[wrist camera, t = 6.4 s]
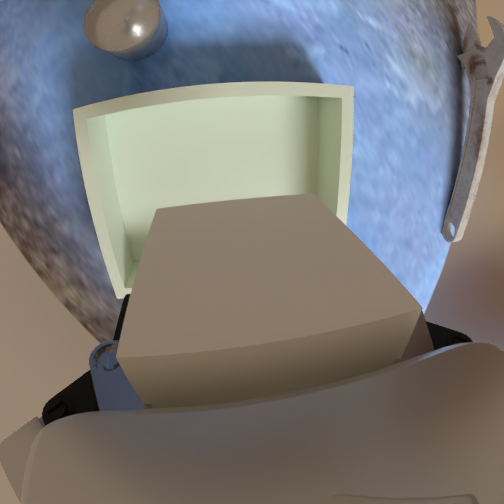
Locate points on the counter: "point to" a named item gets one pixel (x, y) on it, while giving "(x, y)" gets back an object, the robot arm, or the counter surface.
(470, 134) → the wrench
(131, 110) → the crate
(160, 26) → the tea tin
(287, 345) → the flour box
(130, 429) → the robot arm
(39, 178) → the counter surface
